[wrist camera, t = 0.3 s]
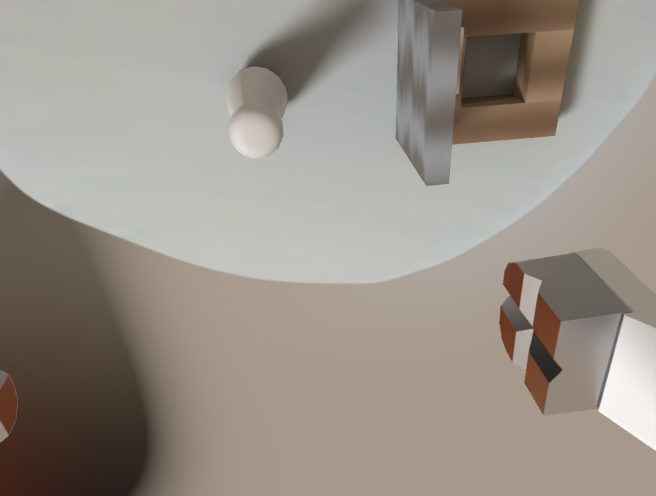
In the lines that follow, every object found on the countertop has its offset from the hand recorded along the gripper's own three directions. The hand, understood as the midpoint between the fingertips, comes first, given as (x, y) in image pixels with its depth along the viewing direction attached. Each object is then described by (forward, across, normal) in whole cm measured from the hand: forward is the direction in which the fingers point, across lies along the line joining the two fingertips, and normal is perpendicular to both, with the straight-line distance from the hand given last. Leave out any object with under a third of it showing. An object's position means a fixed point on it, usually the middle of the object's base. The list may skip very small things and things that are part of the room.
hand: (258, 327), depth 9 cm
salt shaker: (+47, +1, +9) cm, 48 cm away
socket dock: (+47, -22, +9) cm, 52 cm away
